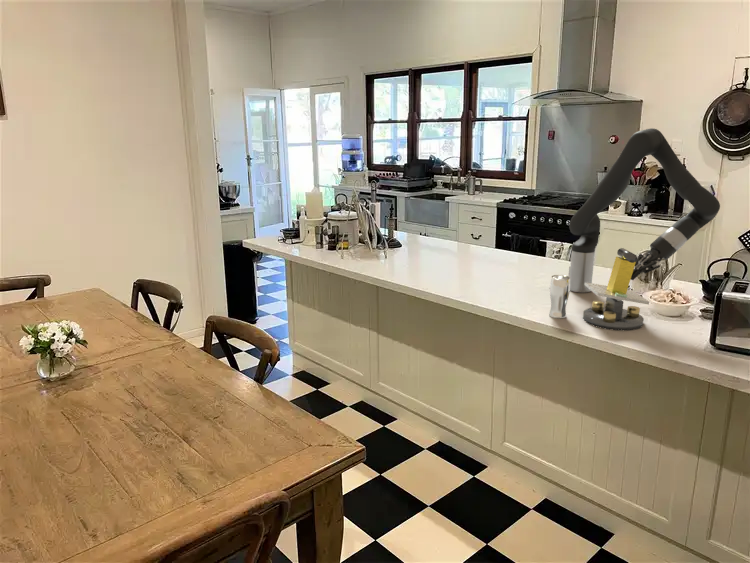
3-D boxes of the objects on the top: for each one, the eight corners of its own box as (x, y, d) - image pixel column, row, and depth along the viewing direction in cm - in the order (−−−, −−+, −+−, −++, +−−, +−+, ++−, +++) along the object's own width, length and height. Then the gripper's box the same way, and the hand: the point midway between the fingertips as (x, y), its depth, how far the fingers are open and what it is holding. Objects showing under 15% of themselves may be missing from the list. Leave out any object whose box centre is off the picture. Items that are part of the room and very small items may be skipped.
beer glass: (544, 313, 207) (547, 274, 203) (562, 312, 208) (566, 274, 204) (552, 319, 200) (555, 279, 196) (570, 318, 201) (574, 279, 197)
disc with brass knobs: (575, 311, 209) (578, 287, 206) (629, 312, 208) (632, 287, 205) (593, 330, 189) (596, 303, 187) (652, 330, 188) (656, 304, 186)
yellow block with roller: (584, 284, 203) (596, 242, 198) (632, 293, 202) (645, 251, 198) (597, 295, 189) (610, 250, 185) (648, 304, 189) (662, 260, 185)
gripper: (652, 232, 196) (615, 266, 200) (670, 239, 183) (630, 275, 187) (666, 246, 197) (628, 280, 201) (685, 254, 185) (644, 290, 188)
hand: (629, 278), depth 194 cm, fingers closed
